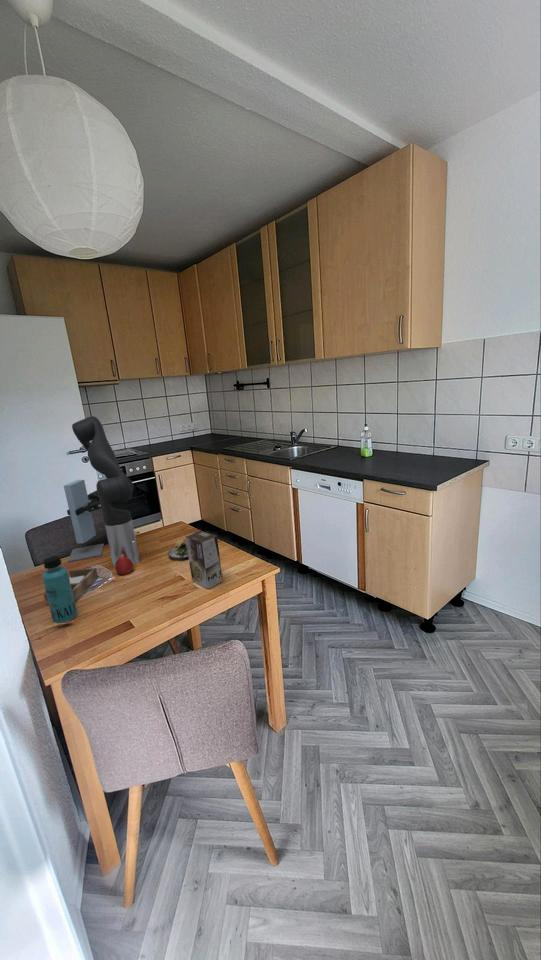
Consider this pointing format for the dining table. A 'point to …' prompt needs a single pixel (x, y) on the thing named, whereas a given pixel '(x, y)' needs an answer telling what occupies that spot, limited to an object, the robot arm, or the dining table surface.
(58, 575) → the beverage bottle
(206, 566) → the coffee box
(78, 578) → the offcut
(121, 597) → the dining table surface
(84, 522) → the board
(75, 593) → the rack
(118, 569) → the pomegranate
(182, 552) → the burger
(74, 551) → the mat
